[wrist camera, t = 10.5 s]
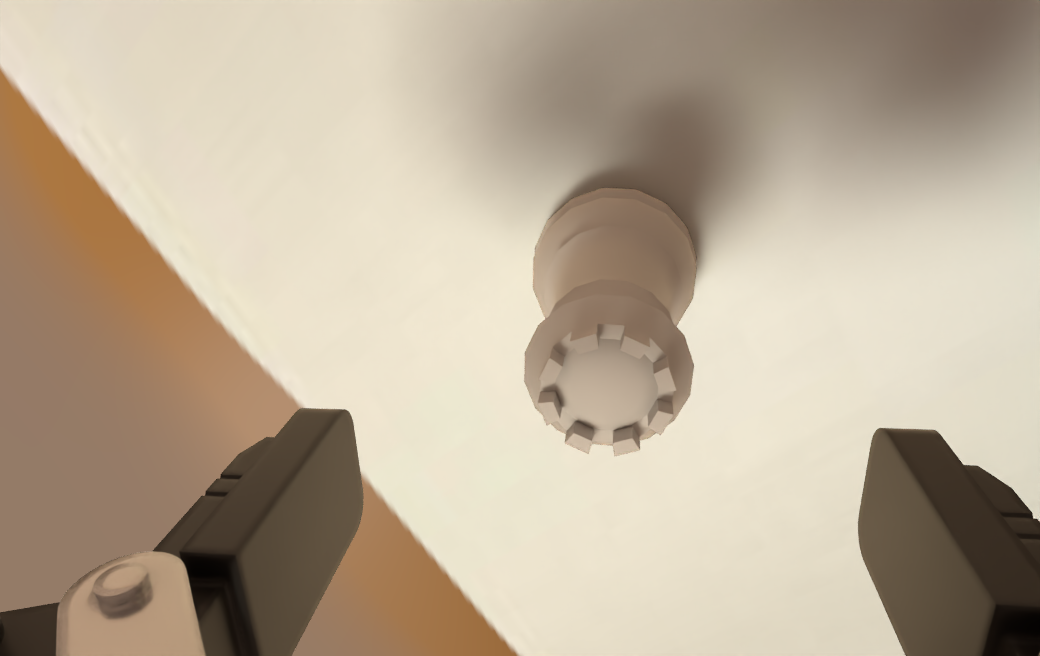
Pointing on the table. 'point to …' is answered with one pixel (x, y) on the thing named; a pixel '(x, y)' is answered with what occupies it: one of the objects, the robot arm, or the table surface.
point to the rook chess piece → (611, 319)
